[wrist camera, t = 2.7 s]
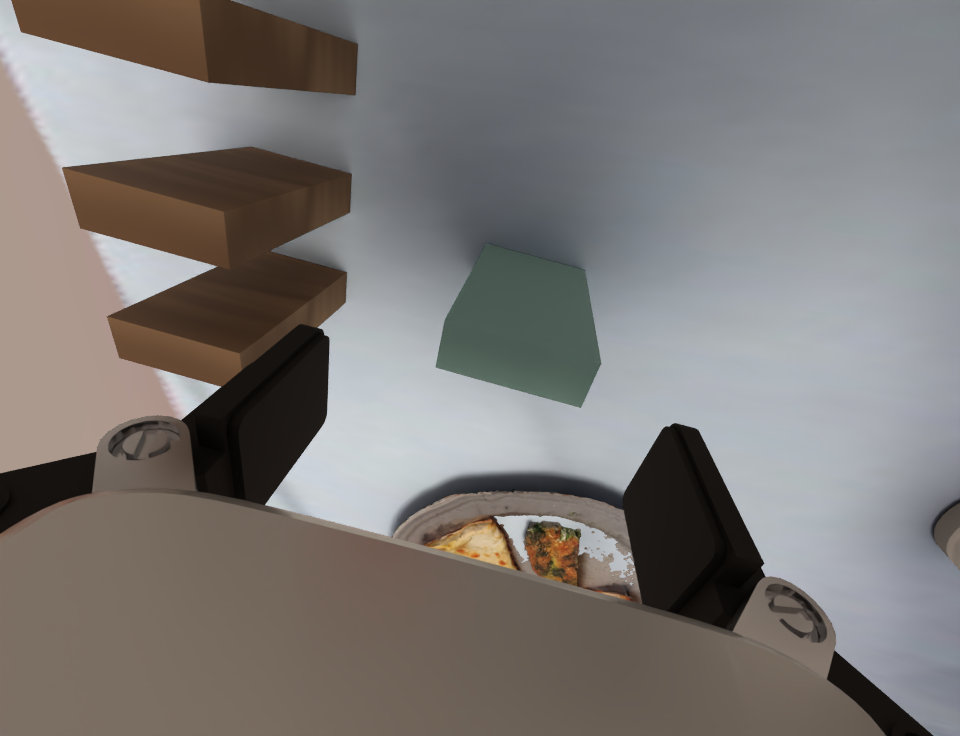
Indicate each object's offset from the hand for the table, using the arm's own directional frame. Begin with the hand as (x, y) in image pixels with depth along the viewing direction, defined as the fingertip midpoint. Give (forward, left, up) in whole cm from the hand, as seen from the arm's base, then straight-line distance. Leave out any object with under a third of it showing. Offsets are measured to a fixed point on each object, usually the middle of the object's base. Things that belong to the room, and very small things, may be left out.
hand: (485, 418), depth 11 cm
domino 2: (-2, -11, -12) cm, 16 cm away
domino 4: (0, +1, -12) cm, 12 cm away
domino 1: (-7, -11, -12) cm, 18 cm away
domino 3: (+3, -11, -12) cm, 17 cm away
